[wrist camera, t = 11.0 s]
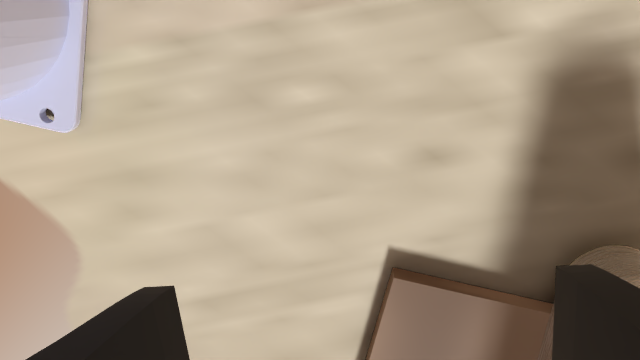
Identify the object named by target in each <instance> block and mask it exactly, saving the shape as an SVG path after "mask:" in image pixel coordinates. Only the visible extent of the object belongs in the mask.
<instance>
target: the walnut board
mask: <svg viewBox="0 0 640 360" xmlns="http://www.w3.org/2000/svg"><path fill="white" fill-rule="evenodd" d="M552 306H553V304H552V303H547V302H543V301H538V300H534V299H530V298H525V297H521V296H517V295H512V294H508V293H503V292H499V291H495V290H490V289H486V288H482V287H477V286H473V285H468V284H464V283H460V282H455V281H451V280H447V279H442V278H438V277H433V276H429V275H425V274H420V273H416V272H412V271H407V270H403V269H398V268H394V267H393V268H392V271H391V275H390V278H389V282H388V285H387V288H386V292H385V295H384V299H383V302H382V305H381V309H380V312H379V315H378V319H377V322H376V326H375V329H374V332H373V336H372V339H371V342H370V346H369V349H368V353H367V356H366V359H365V360H538V356H539V352H540V349H541V345H542V342H543V338H544V335H545V331H546V328H547V324H548V320H549V317H550V313H551V310H552Z"/></svg>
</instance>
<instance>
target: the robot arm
mask: <svg viewBox="0 0 640 360" xmlns="http://www.w3.org/2000/svg"><path fill="white" fill-rule="evenodd" d="M87 10H88V0H0V119H5V120H9V121H13V122H18V123H22V124H26V125H31V126H35V127H40V128H44V129H48V130H53V131H57V132H63V133H67V132H69V131H72V130H74V129H76V128H77V126H78V125H79V123H80V117H81V101H82V86H83V71H84V56H85V40H86V25H87ZM47 108H48V109H50V110H51V111H52V112H53V113H54V117H55V118H54V121H53V120H51V119H49V118H48V117H47V116H46V109H47ZM26 360H190V359H189V355H188V350H187V345H186V340H185V336H184V331H183V326H182V321H181V317H180V312H179V307H178V302H177V298H176V293H175V288H174V286H161V287H144V288H142V289H140V290H138V291H136V292H134V293H132V294H130V295H129V296H127V297H125V298H123V299H122V300H120V301H119V302H117V303H115V304H114V305H112V306H111V307H109V308H107V309H106V310H104V311H103V312H101V313H100V314H98V315H97V316H95V317H93V318H92V319H90V320H89V321H87V322H86V323H84V324H83V325H81V326H79V327H78V328H76V329H75V330H73V331H72V332H70V333H69V334H67V335H65V336H64V337H62V338H61V339H59V340H58V341H56V342H54V343H53V344H51V345H49V346H48V347H46V348H44V349H43V350H41V351H39V352H38V353H36V354H34V355H33V356H31V357H29V358H28V359H26ZM552 360H640V288H638V287H636V286H634V285H633V284H631V283H629V282H627V281H625V280H623V279H621V278H619V277H617V276H615V275H613V274H611V273H609V272H607V271H605V270H603V269H601V268H599V267H597V266H594V265H592V264H587V265H568V266H556V278H555V301H554V323H553V346H552Z"/></svg>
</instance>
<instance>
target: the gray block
mask: <svg viewBox="0 0 640 360" xmlns="http://www.w3.org/2000/svg"><path fill="white" fill-rule="evenodd" d="M587 264H592V265H594V266H597V267H599V268H601V269H603V270H605V271H607V272H609V273H611V274H613V275H615V276H617V277H619V278H621V279H623V280H625V281H627V282H629V283H631V284H633V285H634V286H636V287H638V288H640V250H638V249H636V248H633V247H629V246H623V245H609V246H603V247H599V248H595V249H593V250H590V251H588V252H586V253H584V254H583V255H581V256H580V257H578V258H577V259H576V260H574V261H573V262H572V263H571V264H570V265H587ZM554 301H555V299H554ZM553 323H554V303H553V306H552V310H551V313H550V317H549V320H548V324H547V328H546V331H545V335H544V338H543V342H542V345H541V349H540V352H539V356H538V360H552V346H553Z"/></svg>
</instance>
